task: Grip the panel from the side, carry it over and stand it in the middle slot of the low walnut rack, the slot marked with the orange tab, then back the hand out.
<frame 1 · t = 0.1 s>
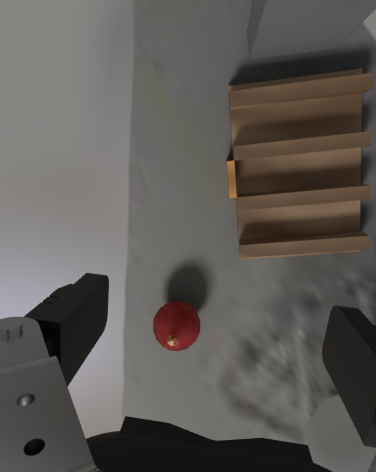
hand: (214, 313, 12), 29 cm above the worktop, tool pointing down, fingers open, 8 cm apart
panel: (290, 39, 35), on the worktop
onion: (180, 311, 44), on the worktop
rack: (294, 171, 38), on the worktop
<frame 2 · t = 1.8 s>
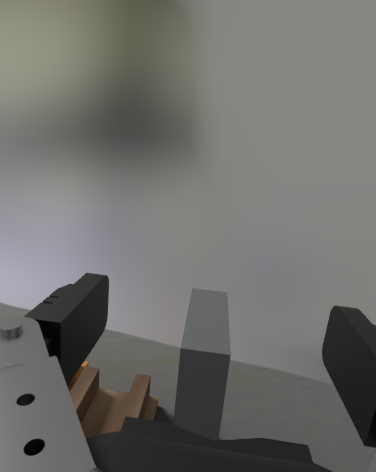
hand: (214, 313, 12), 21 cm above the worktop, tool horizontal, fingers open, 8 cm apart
rack: (31, 448, 29), on the worktop
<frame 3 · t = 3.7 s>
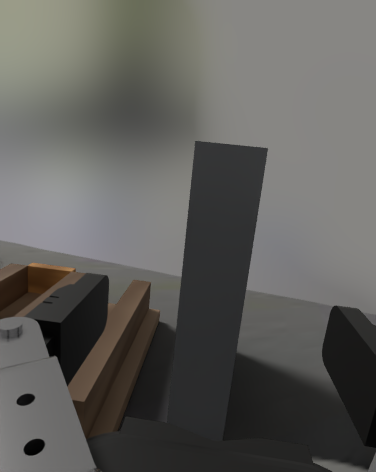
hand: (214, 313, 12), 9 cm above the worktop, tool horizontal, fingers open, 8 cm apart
panel: (199, 381, 22), on the worktop
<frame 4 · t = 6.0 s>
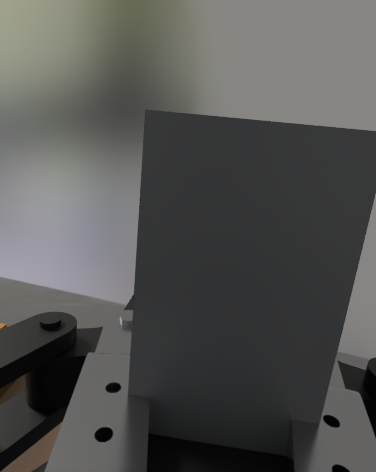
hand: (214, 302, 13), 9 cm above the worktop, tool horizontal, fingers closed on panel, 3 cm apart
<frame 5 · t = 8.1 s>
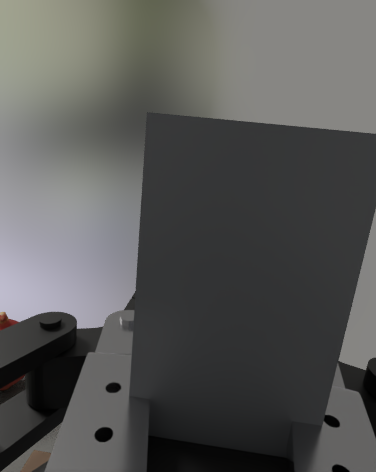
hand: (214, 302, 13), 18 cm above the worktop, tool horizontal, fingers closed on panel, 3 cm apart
onion: (3, 389, 31), on the worktop
when the fingers open (11 cm above the worktop, at t = 10.3 s): panel stays where it is, resting on rack.
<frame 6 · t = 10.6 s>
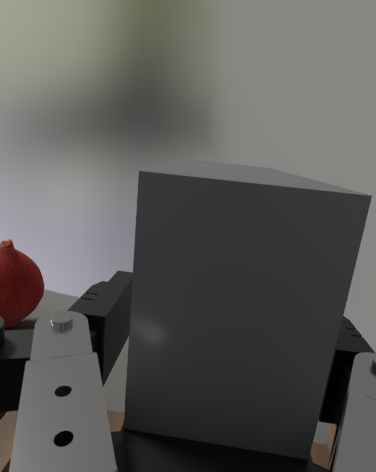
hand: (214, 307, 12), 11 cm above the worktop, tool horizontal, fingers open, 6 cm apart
onion: (8, 328, 29), on the worktop
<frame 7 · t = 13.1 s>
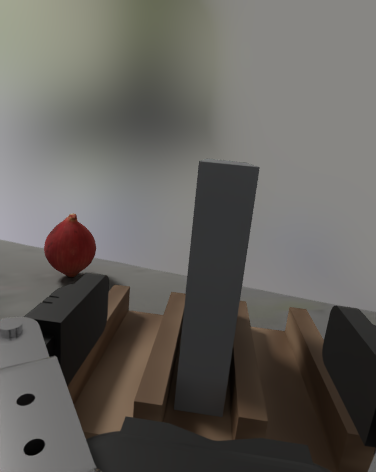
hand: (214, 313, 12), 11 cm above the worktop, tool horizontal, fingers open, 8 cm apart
panel: (202, 367, 24), point 1 cm above the worktop, touching rack
onion: (70, 278, 41), on the worktop
rack: (200, 378, 25), on the worktop
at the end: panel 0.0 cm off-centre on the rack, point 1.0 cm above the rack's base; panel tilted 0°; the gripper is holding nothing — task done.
